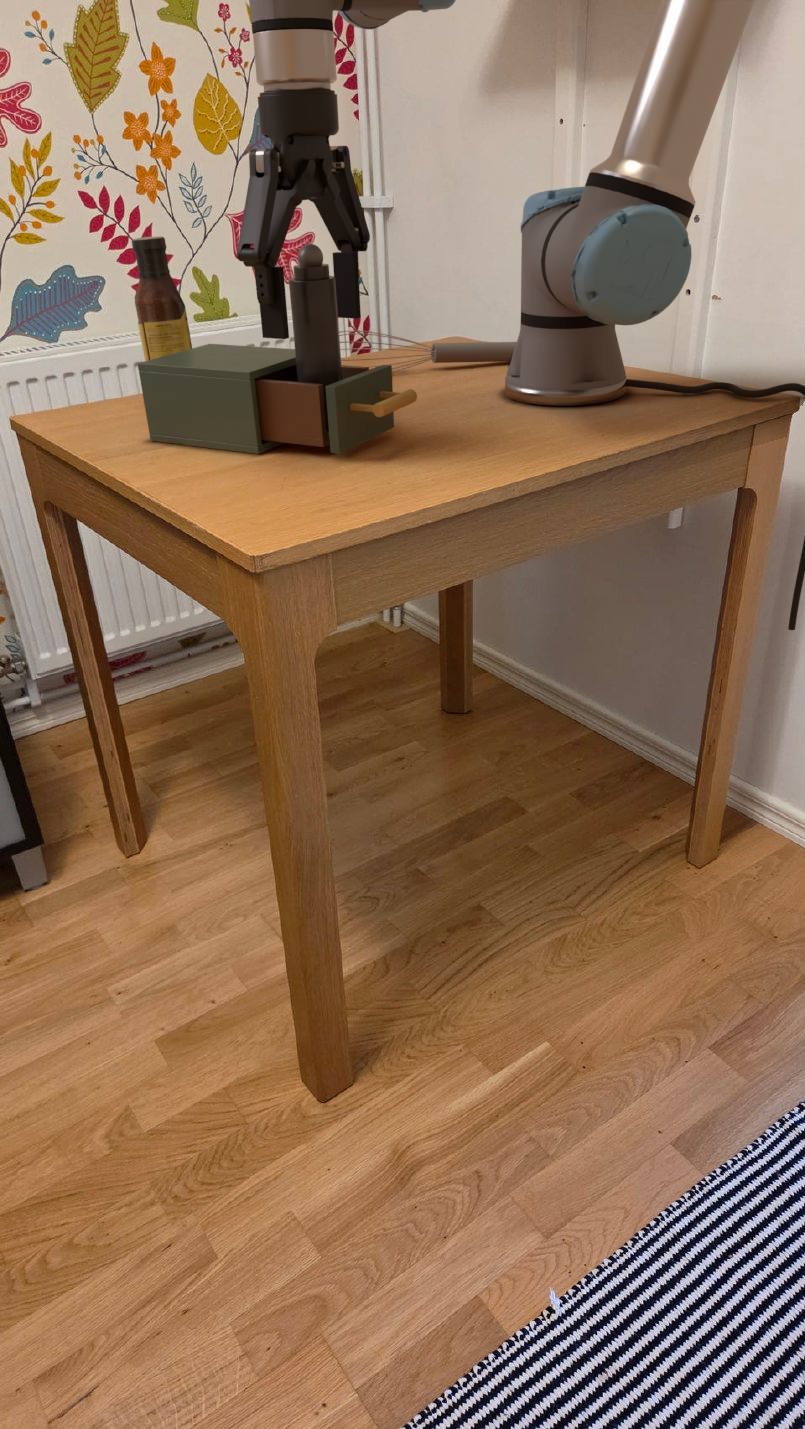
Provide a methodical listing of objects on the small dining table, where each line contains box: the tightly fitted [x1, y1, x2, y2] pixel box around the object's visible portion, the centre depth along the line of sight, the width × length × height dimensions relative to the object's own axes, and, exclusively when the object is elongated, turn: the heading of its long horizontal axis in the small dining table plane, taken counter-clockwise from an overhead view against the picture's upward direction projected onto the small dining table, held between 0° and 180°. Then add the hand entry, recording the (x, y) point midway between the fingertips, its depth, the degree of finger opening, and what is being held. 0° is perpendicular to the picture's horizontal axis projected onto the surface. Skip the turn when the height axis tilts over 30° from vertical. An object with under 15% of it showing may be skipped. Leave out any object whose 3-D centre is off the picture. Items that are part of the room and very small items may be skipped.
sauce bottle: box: [131, 235, 193, 362], centre depth 126 cm, size 7×6×20 cm
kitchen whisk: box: [339, 330, 517, 373], centre depth 142 cm, size 6×34×6 cm, turn 104°
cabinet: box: [137, 343, 296, 455], centre depth 113 cm, size 16×13×9 cm
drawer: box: [255, 364, 418, 455], centre depth 108 cm, size 19×11×7 cm, turn 60°
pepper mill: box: [288, 243, 342, 431], centre depth 105 cm, size 5×5×18 cm
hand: (314, 327), depth 104 cm, fingers open, 13 cm apart
